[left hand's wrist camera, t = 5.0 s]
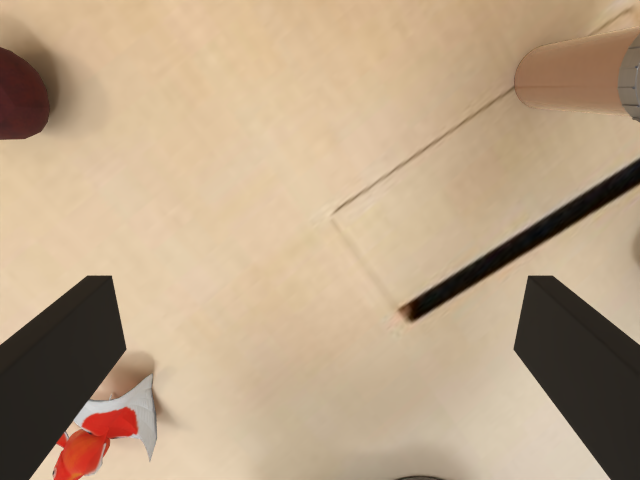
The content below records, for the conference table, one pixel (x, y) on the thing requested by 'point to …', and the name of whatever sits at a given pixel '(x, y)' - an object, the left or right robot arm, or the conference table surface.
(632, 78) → the lid
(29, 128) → the dark red ball
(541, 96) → the jar
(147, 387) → the fish
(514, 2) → the conference table surface
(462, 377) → the conference table surface
